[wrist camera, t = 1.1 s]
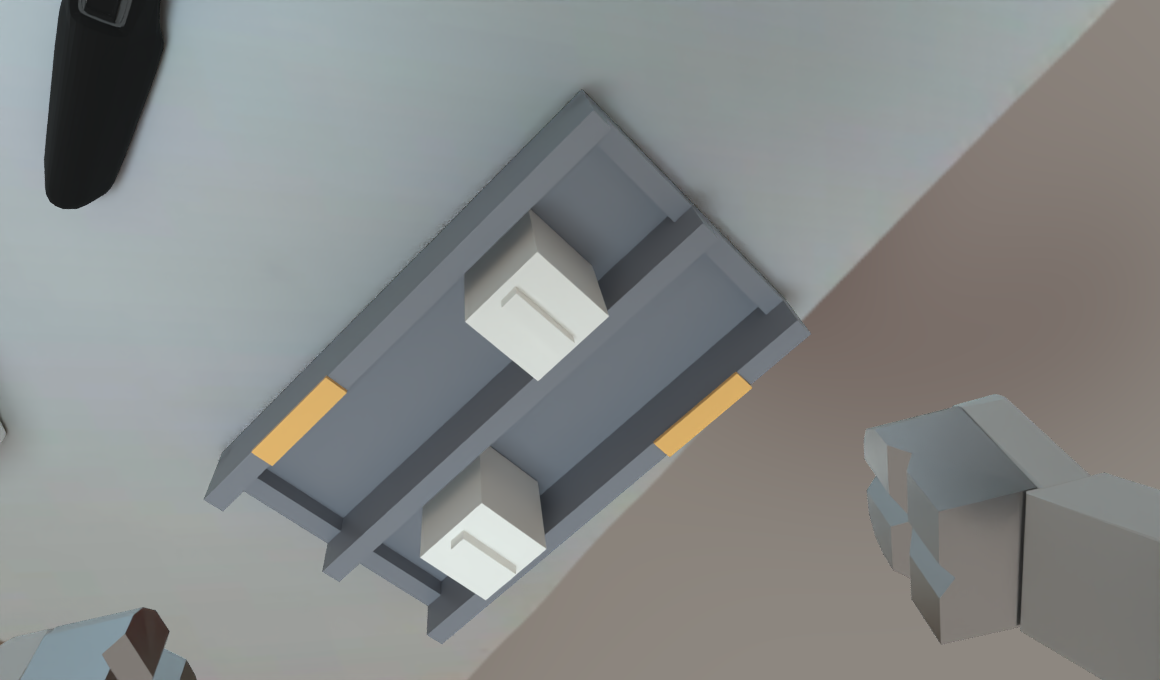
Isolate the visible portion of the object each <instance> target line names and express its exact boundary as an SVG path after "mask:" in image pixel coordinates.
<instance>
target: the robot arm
mask: <svg viewBox="0 0 1160 680" xmlns="http://www.w3.org/2000/svg"><path fill="white" fill-rule="evenodd" d="M864 457H865V460H866V462H867V463H868V465H869V466H870V468H871V469H872V470H873V472H874V473H875V475H876V477H875V478H874V480H873V481H872V483H871V484H870V486H869V488H868V489H867V497H868V498H867V499H868V508H869V516H870V519H871V523H872V526H873V530H874V534H875V537H876V539H877V542H878V544H879V545H880V548H881V550H882V552H883V555H884V556H885V558H886V559H887V561H888V563H889V564H890V566H891V568H892V569H893V571H895V572H898V573H900V574H902V575H904V576H906V577H908V578H910V579H911V596H912V597H911V598H912V601H913V602H914V604H915V605H916V607H917V608H918V610H919V611H920V613H921V615H922V616H923V618H924V619H925V621H926V622H927V624H928V625H929V627H930V628H931V630H932V632H933V633H934V635H935V636H936V638H937V639H938V641H939V642H940V644H946V643H950V642H955V641H959V640H964V639H969V638H973V637H978V636H982V635H987V634H991V633H996V632H1000V631H1005V630H1009V629H1014V628H1018V627H1020V631H1021V632H1023V633H1024V634H1026V635H1028V636H1029V637H1031V638H1033V639H1035V640H1036V641H1038V642H1040V643H1041V644H1043V645H1045V646H1046V647H1048V648H1050V649H1051V650H1053V651H1055V652H1056V653H1058V654H1060V655H1061V656H1063V657H1065V658H1067V659H1068V660H1070V661H1071V662H1073V663H1075V664H1077V665H1078V666H1080V667H1082V668H1083V669H1085V670H1087V671H1088V672H1090V673H1092V674H1094V675H1095V676H1097V677H1099V678H1100V679H1102V680H1160V490H1159V489H1155V488H1152V487H1149V486H1146V485H1143V484H1139V483H1136V482H1133V481H1130V480H1126V479H1124V478H1120V477H1117V476H1114V475H1111V474H1107V473H1100V474H1096V475H1092V476H1091V475H1089V474H1088V473H1087V472H1086V471H1085V470H1084V469H1083V468H1082V467H1081V466H1080V465H1079V464H1078V463H1076V462H1075V461H1074V460H1073V459H1072V458H1071V457H1070V456H1069V455H1068V454H1067V453H1065V451H1063V450H1062V449H1061V448H1060V447H1059V446H1058V445H1057V444H1056V443H1055V442H1054V441H1053V440H1051V439H1050V438H1049V437H1048V436H1047V435H1046V434H1045V433H1044V432H1043V431H1042V430H1040V428H1039V427H1037V426H1036V425H1035V424H1034V423H1033V422H1032V421H1031V420H1030V419H1029V418H1027V417H1026V415H1024V414H1023V413H1022V412H1021V411H1020V410H1019V409H1018V408H1017V407H1016V406H1015V405H1014V404H1012V403H1011V402H1010V401H1009V400H1008V399H1007V398H1006V397H1004V396H1001V395H998V394H994V395H990V396H987V397H983V398H979V399H976V400H972V401H968V402H965V403H961V404H958V405H954V406H952V408H948V409H944V410H940V411H936V412H932V413H928V414H924V415H920V416H916V417H913V418H909V419H905V420H900V421H896V422H892V423H888V424H885V425H880V426H877V427H873V428H868V429H866V432H865V437H864ZM169 632H170V631H169V630H168V628H167V627H166V625H165V624H164V622H163V621H162V619H161V618H160V616H159V614H158V613H157V611H156V610H152V609H148V608H144V607H142V608H138V609H133V610H129V611H125V612H120V613H116V614H111V615H107V616H102V617H98V618H93V619H89V620H84V621H80V622H75V623H71V624H67V625H62V626H58V627H56V628H53V629H46V630H42V631H38V632H34V633H29V634H25V635H21V636H17V637H13V638H11V639H10V640H8V641H6V642H5V643H3V644H2V645H0V680H197V679H196V676H195V674H194V672H193V670H192V668H191V667H190V665H189V663H188V661H187V660H186V659H184V658H182V657H180V656H178V655H176V654H174V653H172V652H170V651H168V650H166V649H164V648H165V645H166V642H167V638H168V635H169Z"/></svg>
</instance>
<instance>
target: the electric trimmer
mask: <svg viewBox="0 0 1160 680" xmlns="http://www.w3.org/2000/svg"><path fill="white" fill-rule="evenodd" d="M159 13H160V0H62V2H61V6H60V11H59V17H58V25H57V33H56V41H55V50H54V60H53V71H52V81H51V92H50V103H49V113H48V124H47V134H46V145H45V156H44V168H45V189H46V195H47V197H48V199H49V201H50V202H51V203H52V204H54V205H55V206H57V207H59V208H62V209H78V208H80V207H83V206H85V205H87V204H89V203H91V202H92V201H94V200H96V199H97V198H99V197H101V196H102V195H104V194H106V193H107V192H108V190H109V189H110V188H111V187H112V185H113V183H114V182H115V179H116V177H117V174H118V172H119V169H120V167H121V164H122V162H123V160H124V157H125V154H126V152H127V149H128V146H129V144H130V141H131V138H132V136H133V133H134V130H135V128H136V125H137V122H138V119H139V117H140V114H141V111H142V109H143V106H144V103H145V101H146V98H147V95H148V93H149V90H150V87H151V85H152V82H153V79H154V76H155V73H156V70H157V67H158V64H159V61H160V57H161V54H162V51H163V45H164V42H163V38H162V34H161V30H160V25H159ZM123 25H124V26H123Z"/></svg>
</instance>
